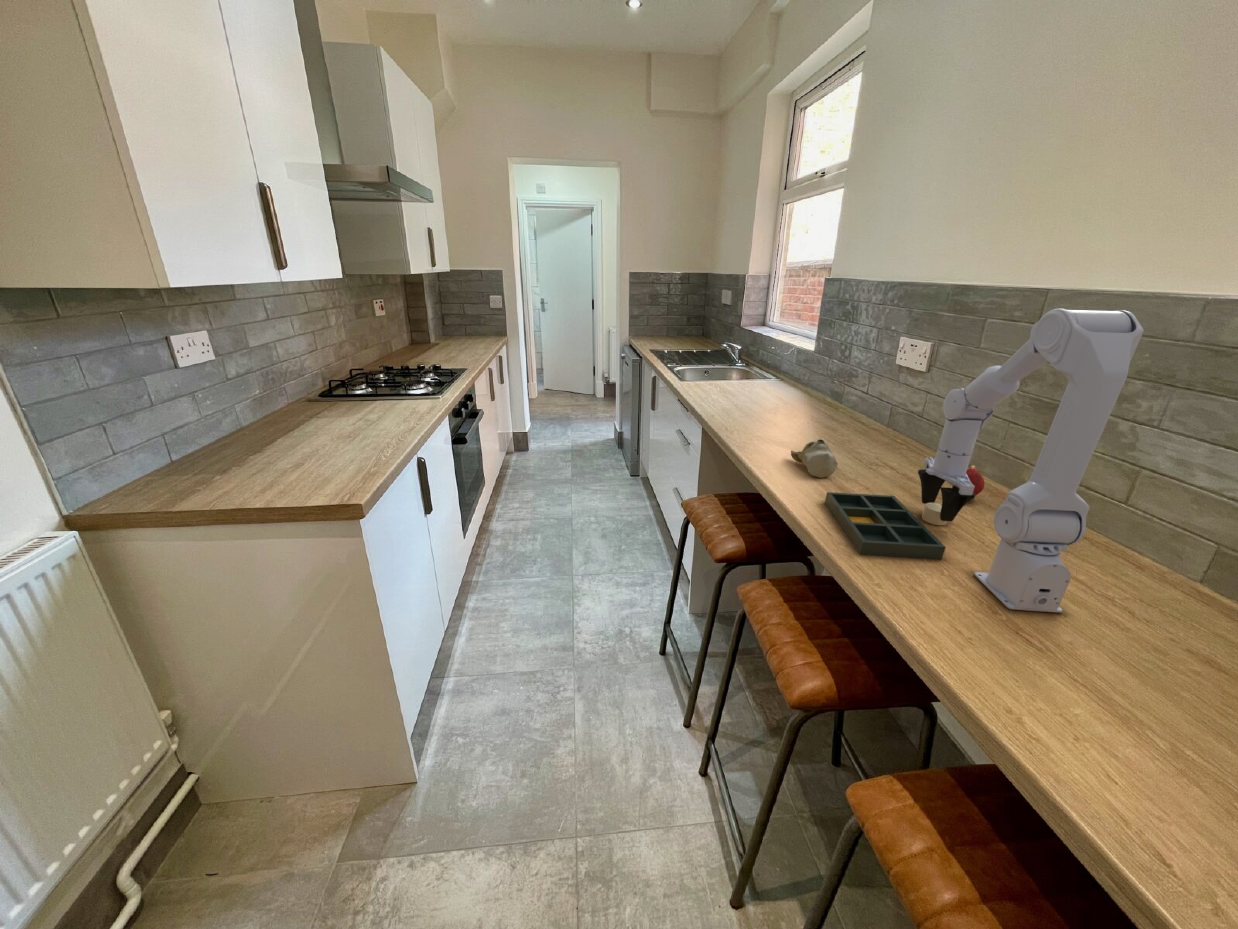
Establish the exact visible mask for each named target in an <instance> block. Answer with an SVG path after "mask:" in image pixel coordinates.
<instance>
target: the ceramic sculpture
mask: <svg viewBox="0 0 1238 929" xmlns="http://www.w3.org/2000/svg"><path fill="white" fill-rule="evenodd" d="M790 456H791V458H792V460H794V461H795V462H797V463H800V464H803V465H804V466H805V467H806V470H807V472H808V474H809V475H810V476H812V477H816V478H819V479H820V478H822V479H823V478H827V477H830V476H832V475H833V474H834V473H835V471H836V470H837V468H838V466H839V463H838V461H837V459H836V457H835V455H834V454H833V452H832V450H831V449H830V447H829V445H828V444H827V443H826V442H825V441H824V440H823V439H817V441H810V442H808V443H807V444H805V445H804V447H803V449H802V450H801V451H794V450H791V451H790Z"/></svg>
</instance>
